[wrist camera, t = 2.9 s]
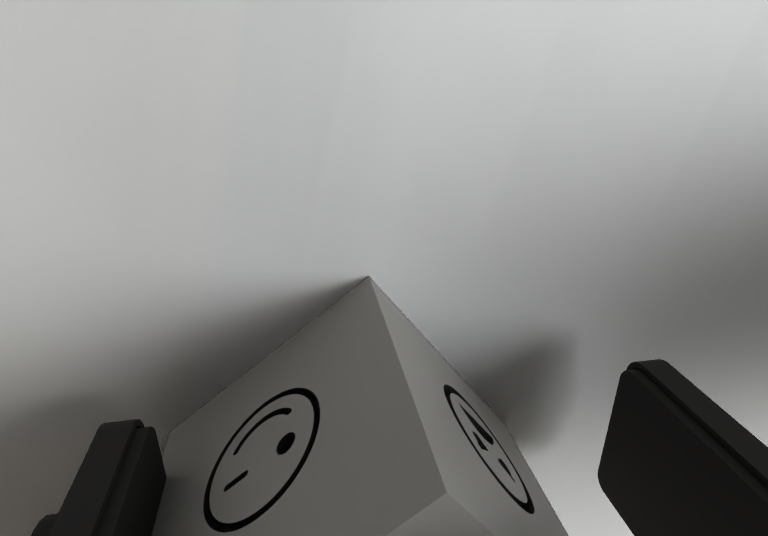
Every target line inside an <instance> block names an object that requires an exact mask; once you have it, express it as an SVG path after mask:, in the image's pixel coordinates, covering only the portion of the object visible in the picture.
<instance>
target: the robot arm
mask: <svg viewBox="0 0 768 536" xmlns="http://www.w3.org/2000/svg"><path fill="white" fill-rule="evenodd" d="M166 479H167V477H166V473H165V468H164V464H163V460H162V456H161V452H160V448H159V444H158V439H157V435H156V432H155V429H154V428H153V427H144V425H143V423H142V421H141V420H139V419H135V420H127V421H118V422H109V423H103V424H102V425H101V426H100V427H99V429H98V431H97V433H96V435H95V437H94V439H93V441H92V443H91V445H90V448H89V450H88V452H87V454H86V456H85V458H84V460H83V462H82V464H81V467H80V469H79V471H78V473H77V475H76V477H75V479H74V481H73V484H72V486H71V488H70V490H69V492H68V494H67V496H66V498H65V501H64V503H63V505H62V507H61V509H60V511H59V513H58V514H51V515H46V516H45V517H44V518H43V519H42V520H41V521H40V522H39V523H38V525H37V526H36V528H35V529H34V531H33V533H32V535H31V536H151V535H152V532H153V528H154V524H155V520H156V516H157V513H158V509H159V505H160V501H161V498H162V494H163V490H164V486H165V482H166ZM598 479H599V483H600V486H601V488H602V490H603V492H604V493H605V495H606V496H607V497H608V499H609V500H610V502H611V503H612V504H613V506H614V507H615V509H616V510H617V512H618V513H619V514H620V516H621V517H622V519H623V520H624V522H625V523H626V524H627V526H628V527H629V529H630V530H631V531H632V533H633V534H634V536H768V447H767V446H765V445H764V444H763V443H762V442H761V441H759V440H758V439H757V438H756V437H755V436H754V435H752V434H751V433H750V432H749V431H748V430H747V429H745V428H744V427H743V426H742V425H741V424H739V423H738V422H737V421H736V420H735V419H734V418H732V417H731V416H730V415H729V414H728V413H726V412H725V411H724V410H723V409H722V408H721V407H719V406H718V405H717V404H716V403H715V402H714V401H712V400H711V399H710V398H709V397H708V396H706V395H705V394H704V393H703V392H702V391H701V390H699V389H698V388H697V387H696V386H695V385H694V384H692V383H691V382H690V381H689V380H688V379H686V378H685V377H684V376H683V375H682V374H681V373H679V372H678V371H677V370H676V369H675V368H673V367H672V366H671V365H670V364H669V363H667V362H666V361H664V360H660V359H657V360H648V361H639V362H633V363H631V364H630V365H629V366H628V367H627V370H626V371H624V372H623V373H622V374H621V376H620V380H619V384H618V388H617V392H616V397H615V401H614V405H613V409H612V414H611V418H610V422H609V426H608V431H607V435H606V439H605V443H604V448H603V452H602V456H601V460H600V465H599V469H598Z"/></svg>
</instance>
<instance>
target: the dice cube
mask: <svg viewBox="0 0 768 536" xmlns="http://www.w3.org/2000/svg"><path fill="white" fill-rule="evenodd" d="M162 460H163V464H164V468H165V473H166V477H167V479H166V482H165V486H164V490H163V494H162V498H161V501H160V505H159V509H158V513H157V516H156V520H155V524H154V528H153V532H152V535H151V536H568V534H567V532H566V530H565V529H564V527H563V525H562V523H561V522H560V520H559V518H558V516H557V515H556V513H555V511H554V509H553V508H552V506H551V504H550V502H549V501H548V499H547V497H546V495H545V494H544V492H543V490H542V488H541V487H540V485H539V483H538V481H537V480H536V478H535V476H534V475H533V473H532V471H531V469H530V468H529V466H528V464H527V462H526V461H525V459H524V457H523V455H522V454H521V452H520V450H519V448H518V447H517V445H516V443H515V441H514V440H513V438H512V436H511V434H510V433H509V431H508V429H507V427H506V426H505V424H504V423H503V422H502V421H501V420H500V419H499V418H498V416H497V415H496V414H495V413H494V412H493V411H492V410H491V409H490V408H489V407H488V406H487V404H486V403H485V402H484V401H483V400H482V399H481V398H480V397H479V396H478V395H477V394H476V392H475V391H474V390H473V389H472V388H471V387H470V386H469V385H468V384H467V383H466V381H465V380H464V379H463V378H462V377H461V376H460V375H459V374H458V373H457V372H456V371H455V369H454V368H453V367H452V366H451V365H450V364H449V363H448V362H447V361H446V360H445V359H444V357H443V356H442V355H441V354H440V353H439V352H438V351H437V350H436V349H435V348H434V347H433V345H432V344H431V343H430V342H429V341H428V340H427V339H426V338H425V337H424V336H423V334H422V333H421V332H420V331H419V330H418V329H417V328H416V327H415V326H414V325H413V324H412V322H411V321H410V320H409V319H408V318H407V317H406V316H405V315H404V314H403V313H402V312H401V310H400V309H399V308H398V307H397V306H396V305H395V304H394V303H393V302H392V301H391V299H390V298H389V297H388V296H387V295H386V294H385V293H384V292H383V291H382V290H381V289H380V287H379V286H378V285H377V284H376V283H375V282H374V281H373V280H372V279H371V278H370V277H369V276H368V277H367V278H366V279H364V280H363V281H362V282H360V283H359V284H358V285H357V286H355V287H354V288H353V289H352V290H350V291H349V292H348V293H346V294H345V295H344V296H343V297H341V298H340V299H339V300H338V301H336V302H335V303H334V304H332V305H331V306H330V307H329V308H327V309H326V310H325V311H324V312H322V313H321V314H320V315H318V316H317V317H316V318H315V319H313V320H312V321H311V322H309V323H308V324H307V325H306V326H304V327H303V328H302V329H301V330H299V331H298V332H297V333H295V334H294V335H293V336H292V337H290V338H289V339H288V340H287V341H285V342H284V343H283V344H281V345H280V346H279V347H278V348H276V349H275V350H274V351H273V352H271V353H270V354H269V355H267V356H266V357H265V358H264V359H262V360H261V361H260V362H259V363H257V364H256V365H255V366H253V367H252V368H251V369H250V370H248V371H247V372H246V373H245V374H243V375H242V376H241V377H239V378H238V379H237V380H236V381H234V382H233V383H232V384H230V385H229V386H228V387H227V388H225V389H224V390H223V391H222V392H220V393H219V394H218V395H216V396H215V397H214V398H213V399H211V400H210V401H209V402H208V403H206V404H205V405H204V406H202V407H201V408H200V409H199V410H197V411H196V412H195V413H194V414H192V415H191V416H190V417H188V418H187V419H186V420H185V421H183V422H182V423H181V424H180V425H178V426H177V427H176V428H174V429H173V430H172V431H171V432H170V433H169V436H168V440H167V443H166V447H165V450H164V454H163V457H162Z"/></svg>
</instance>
